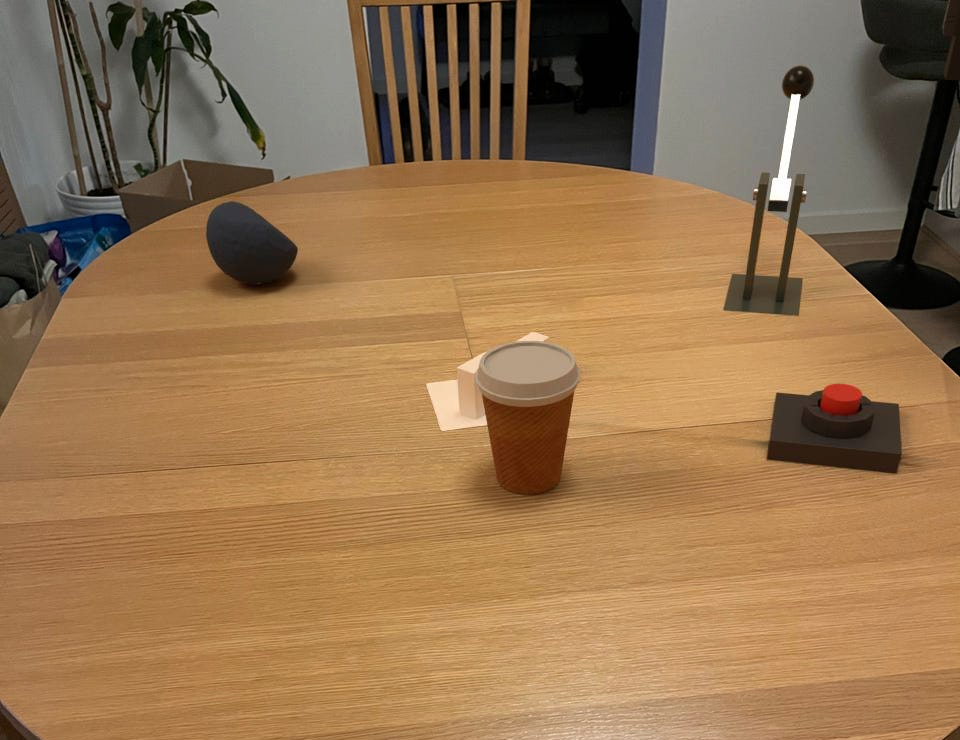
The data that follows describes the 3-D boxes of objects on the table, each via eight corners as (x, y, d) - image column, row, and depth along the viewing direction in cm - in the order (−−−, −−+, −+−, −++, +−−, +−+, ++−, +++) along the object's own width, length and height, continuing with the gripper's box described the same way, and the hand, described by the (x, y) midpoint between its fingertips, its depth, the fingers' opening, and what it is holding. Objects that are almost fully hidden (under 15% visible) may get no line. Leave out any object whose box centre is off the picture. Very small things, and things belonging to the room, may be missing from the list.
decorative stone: (242, 305, 128) (226, 228, 121) (202, 281, 135) (184, 206, 129) (317, 281, 133) (306, 206, 127) (275, 258, 140) (261, 186, 134)
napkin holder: (552, 366, 111) (552, 318, 107) (579, 412, 103) (581, 362, 99) (424, 383, 109) (420, 335, 105) (441, 432, 101) (437, 381, 97)
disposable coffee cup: (464, 493, 92) (457, 377, 84) (500, 445, 98) (497, 332, 90) (559, 511, 89) (561, 393, 81) (590, 460, 95) (594, 345, 87)
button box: (893, 423, 98) (903, 386, 96) (896, 474, 91) (907, 436, 89) (772, 411, 101) (779, 375, 99) (766, 459, 94) (773, 423, 92)
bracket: (730, 282, 127) (746, 162, 117) (801, 287, 125) (823, 165, 115) (721, 319, 119) (738, 193, 109) (797, 325, 116) (821, 197, 107)
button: (858, 401, 95) (862, 385, 94) (858, 419, 92) (862, 402, 91) (820, 398, 96) (823, 381, 94) (819, 415, 93) (822, 399, 92)
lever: (783, 78, 116) (785, 58, 113) (814, 79, 116) (817, 58, 112) (761, 213, 115) (763, 197, 112) (792, 215, 114) (795, 198, 111)
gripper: (1125, -276, 75) (1024, 68, 91) (946, -265, 78) (878, 66, 94) (1145, -279, 70) (1034, 87, 86) (953, -267, 73) (879, 84, 89)
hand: (953, 76), depth 90 cm, fingers closed
